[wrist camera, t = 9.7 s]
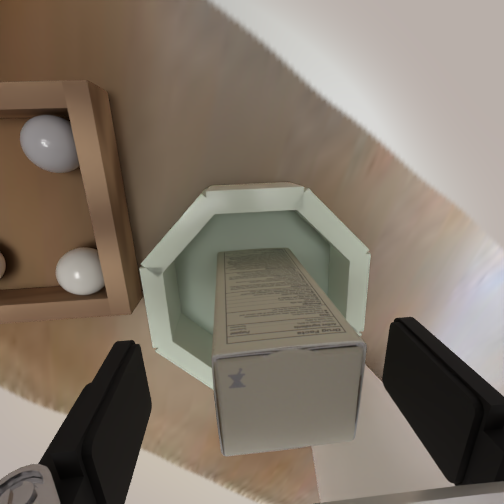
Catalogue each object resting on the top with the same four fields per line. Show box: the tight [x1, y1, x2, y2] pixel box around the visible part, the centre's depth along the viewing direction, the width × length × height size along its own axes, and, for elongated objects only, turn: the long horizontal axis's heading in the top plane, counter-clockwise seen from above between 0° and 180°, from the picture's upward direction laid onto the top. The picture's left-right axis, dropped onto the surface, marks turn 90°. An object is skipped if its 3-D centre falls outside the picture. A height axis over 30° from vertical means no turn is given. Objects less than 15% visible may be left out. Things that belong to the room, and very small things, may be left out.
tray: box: [0, 80, 143, 324], centre depth 17 cm, size 13×12×2 cm
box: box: [211, 248, 367, 456], centre depth 15 cm, size 5×4×11 cm
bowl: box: [139, 182, 371, 390], centre depth 19 cm, size 13×13×4 cm
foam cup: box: [312, 364, 455, 503], centre depth 18 cm, size 10×9×13 cm
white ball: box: [56, 247, 105, 295], centre depth 18 cm, size 3×3×3 cm
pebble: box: [20, 115, 80, 173], centre depth 16 cm, size 3×3×3 cm
